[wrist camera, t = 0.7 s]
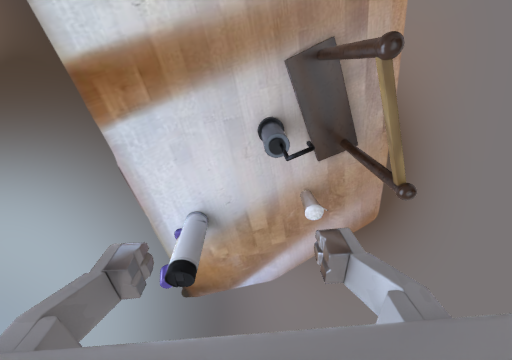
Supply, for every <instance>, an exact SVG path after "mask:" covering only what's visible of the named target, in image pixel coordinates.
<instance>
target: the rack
mask: <svg viewBox="0 0 512 360" xmlns="http://www.w3.org/2000/svg"><path fill="white" fill-rule="evenodd" d="M403 46H404V37H403V36H402V34H401V33H399V32H396V31H392V32H388V33H386V34H384V35H383V36H382V37H378V38H373V39H368V40H363V41H359V42H354V43H349V44H344V45H339V46H336V42H335V38H334V37H331V38H329V39H327V40H325V41H323V42H321V43H319V44H317V45H315V46H313V47H311V48H309V49H307V50H305V51H303V52H301V53H299V54H297V55H295V56H293V57H291V58H289V59H287V60H285V64H286V67H287V70H288V73H289V76H290V79H291V82H292V85H293V88H294V91H295V94H296V97H297V100H298V103H299V106H300V109H301V112H302V115H303V118H304V121H305V124H306V127H307V130H308V133H309V136H310V139H311V142H312V144H313V145H314V146H315V150H314V151H315V154H316V157H317V160H318V161H321V160H323V159H326V158H328V157H331V156H333V155H336V154H338V153H340V152H343V151H345V150H346V151H347V152H348V153H350V154H351V155H352V156H353V157H354V158H356V159H357V160H358V161H359V162H360V163H362V164H363V165H364V166H365V167H366V168H367V169H369V170H370V171H371V172H372V173H373V174H375V175H376V176H377V177H378V178H379V179H381V180H382V181H383V182H384V183H385V184H386V185H388V186H389V187H390V188H391V189H392V190H394V191H395V192H396V195H397V196H398V197H399V198H400V199H402V200H411V199H413V198H414V197H415V196H416V194H417V189H416V187H415V186H414V185H412V184H410V183H406V177H405V168H404V159H403V150H402V141H401V132H400V123H399V114H398V105H397V96H396V87H395V78H394V70H393V61H392V59H393V58H395V57H396V56H397V55H398V54H399V53H400V52H401V51H402V49H403ZM362 58H376V65H377V72H378V79H379V86H380V92H381V99H382V106H383V113H384V120H385V127H386V134H387V141H388V147H389V154H390V161H391V168H392V172H391V171H389V170H388V169H387V168H385V167H384V166H383V165H381V164H380V163H378V162H377V161H376V160H374V159H373V158H372V157H370V156H369V155H368V154H366V153H365V152H363V151H362V150H361V149H359V148H358V147H357V145H358V142H357V138H356V133H355V129H354V124H353V120H352V115H351V111H350V106H349V101H348V97H347V92H346V88H345V83H344V79H343V74H342V70H341V65H340V60H342V59H362Z"/></svg>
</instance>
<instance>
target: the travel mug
mask: <svg viewBox="0 0 512 360" xmlns="http://www.w3.org/2000/svg"><path fill="white" fill-rule="evenodd" d="M207 226H208V218H207V217H206V215H204V214H203V213H200V212H193V213H190V214H189V215H188V216H187V218H186V220H185V223H184V226H183V228H182V231H181V234H180V236H179V239H178V242H177V244H176V247H175V250H174V252H173V255H172V257H171V260H170V263H169V265H168V269H167V272H166V274H165V277H164V280H165V282H166V283H167V284H169V285H170V286H173V287H178V286H179V287H185V286H186V287H188V286H191V285H192V284H193V283H194V281H195V277H196V273H197V270H198V265H199V261H200V256H201V252H202V248H203V243H204V239H205V234H206V230H207Z"/></svg>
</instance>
